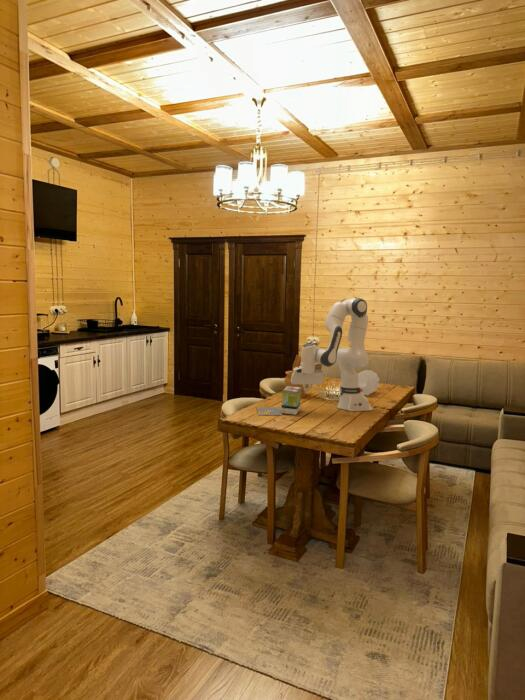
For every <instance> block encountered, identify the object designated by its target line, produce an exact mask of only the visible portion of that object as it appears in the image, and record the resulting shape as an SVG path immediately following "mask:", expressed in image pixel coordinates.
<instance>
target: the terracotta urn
mask: <svg viewBox="0 0 525 700" xmlns="http://www.w3.org/2000/svg"><path fill="white" fill-rule="evenodd" d="M301 362H302V360H301V355H298V354H296V356H295V359H294V361H293V364H292V370H287V371H285V374H286V376H285V377H284V384H285V387H286V386H290V387H299V388H301V398H306V392H305V391H304V387H303V384H292V383H291V376H292V373H293V372H294V371H293V369H294V368H296V367H299V366H301ZM308 387H309V384H306V385H305V388H308ZM311 387H313V385H311Z"/></svg>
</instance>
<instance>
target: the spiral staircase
mask: <svg viewBox="0 0 525 700" xmlns="http://www.w3.org/2000/svg"><path fill="white" fill-rule="evenodd" d="M357 374H358V376H359V379H358V387H359V388H362V389H363V392H360V393H361V394H363V395H364V396H369V395H370V394H373V393H375V391H376V390H377V389H378V388H379V387H380V380H381V379H380V378H379V376H378V373H376V372H374V371H373V370H372V369H371V370H367V369H365V370H362V371H359V372H357Z"/></svg>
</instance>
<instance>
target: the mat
mask: <svg viewBox="0 0 525 700" xmlns="http://www.w3.org/2000/svg"><path fill="white" fill-rule="evenodd" d="M257 407H258V406H255V408H257ZM262 407H263V408H260V409H259V408H257V409H256V412H257V411H258V412H259V411H261V412H262V411H263V412H262V413H264V412H265V410H266V412H267V411H268V409H269V410H271V412H270V411H269V412H270V413H269V412H268V414H262V413H261V412H260V413H261V414H259V415H269V414H270V415H283V414H284V413H281V408H280V406H279V407H278V406H275V407H274V406H269V407H268V406H267V407H266V406H262ZM272 410H273V411H272ZM266 412H265V413H266ZM283 416H284V415H283Z"/></svg>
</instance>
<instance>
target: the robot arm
mask: <svg viewBox="0 0 525 700" xmlns="http://www.w3.org/2000/svg"><path fill="white" fill-rule="evenodd" d="M367 312H368V304H367V302H366V300H365V299H363V298H359V297H357V298H355V297H352V298H345V299H342V300H341V301H340V302H339V301H337V302H334V304H333V305H332V306H331V307H330V309H329V312H328V313H327V316H326V318H325V320H324V327H325V329H326V330H327V331H328V332H329V333H330V334H331V335H330V341H329V344H328V347H327V348H325V349H324V348H321V347H318V346H317V345H316V344H315V343H311V342H310V343H309V342H308V343H305V344H303V345H302V346H301V352H300V353H301V355H300V356H301V363H300V366H299V367H296V368H294V369H293V368H292V370H293V371H294V372H293V373H292V376H291V383H292V384H303V387H304V391H305V393H306V392H310V390H311V388H312V386H314V385H320V386H321V385H324V376H325V371H324V370H322V369H316V364H318V365H322V366H325V367H327V368H330V367H332V366H333V365H334V364H336V363H337V365H338V367H339V370H340V376H341V377H340V378H341V379H340V382H341V383H340V386H339V399H338V404H337V408H338V409H340V410H344V411H345V410H346V411H349V412H363V411H364V412H365V411H367V412H368V411H373V406H371V405H370V403H369V402H370V401H369V398H367V397H366V395H363V394H361V393H360V392H363V389H362V388H359V387H358V379H359V376H358V372H356V371H357V370H355V368H363V367H366V366H367V365H368V363H369V359H370V358H369V354H368V353H367V351H366V349H365V338H366V334H367V330H368V325H369V316H368V314H367ZM347 316H350V318H351V322H350V324H349V329H348V333H347V336H346V338H347V341H348V342H349V344H350V348H347V347H340V343H341V340H342V336H343V325H344V322H345V320H346V317H347ZM339 347H340V348H339ZM306 384H309V387H308V388H305V385H306ZM311 385H312V386H311Z"/></svg>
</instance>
